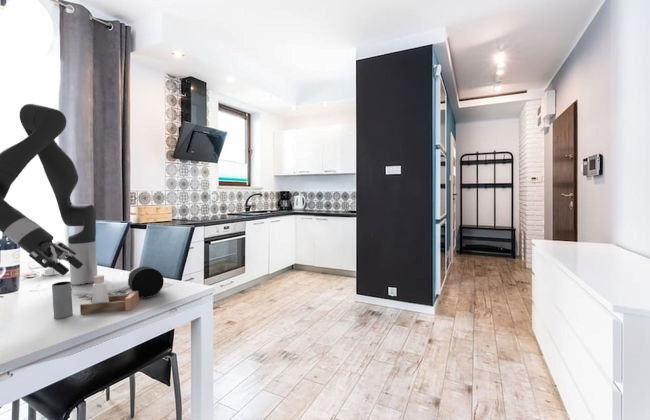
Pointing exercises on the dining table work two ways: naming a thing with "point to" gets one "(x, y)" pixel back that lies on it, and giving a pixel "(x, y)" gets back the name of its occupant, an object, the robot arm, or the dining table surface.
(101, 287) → the pepper shaker
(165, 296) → the dining table surface
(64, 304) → the planter
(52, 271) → the beer glass
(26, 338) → the dining table surface
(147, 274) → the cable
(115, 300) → the guide channel
